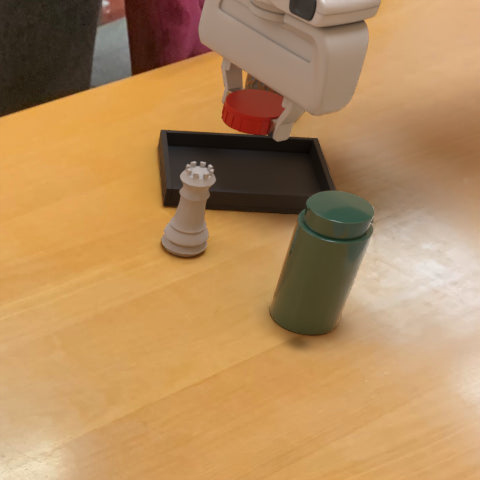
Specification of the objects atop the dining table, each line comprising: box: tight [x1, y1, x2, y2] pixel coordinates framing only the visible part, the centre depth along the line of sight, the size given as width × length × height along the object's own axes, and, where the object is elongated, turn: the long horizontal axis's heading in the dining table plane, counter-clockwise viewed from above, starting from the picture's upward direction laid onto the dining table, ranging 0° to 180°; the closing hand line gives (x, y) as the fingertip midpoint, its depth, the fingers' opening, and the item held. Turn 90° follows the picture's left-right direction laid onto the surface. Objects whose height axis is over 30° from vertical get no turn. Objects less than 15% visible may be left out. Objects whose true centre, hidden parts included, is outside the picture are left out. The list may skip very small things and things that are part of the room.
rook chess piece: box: [160, 161, 216, 258], centre depth 84 cm, size 4×4×8 cm
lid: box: [220, 88, 285, 135], centre depth 91 cm, size 7×7×2 cm
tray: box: [157, 129, 337, 215], centre depth 95 cm, size 17×13×2 cm
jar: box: [269, 190, 376, 336], centre depth 76 cm, size 6×6×10 cm
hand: (254, 121), depth 91 cm, fingers closed on lid, 6 cm apart
